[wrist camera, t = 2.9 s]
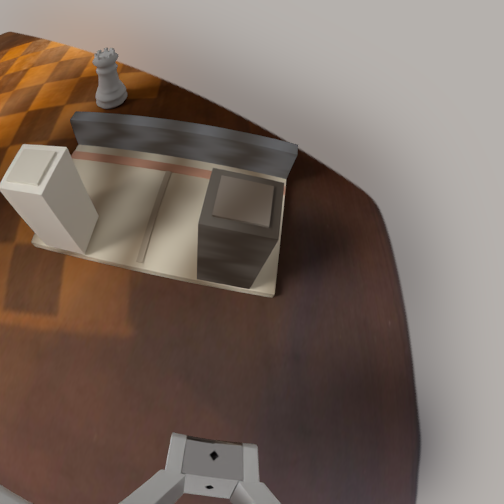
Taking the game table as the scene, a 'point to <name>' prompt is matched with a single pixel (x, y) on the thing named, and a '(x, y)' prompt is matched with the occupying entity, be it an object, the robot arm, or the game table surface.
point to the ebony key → (237, 227)
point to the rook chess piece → (108, 80)
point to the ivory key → (50, 196)
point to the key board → (164, 189)
